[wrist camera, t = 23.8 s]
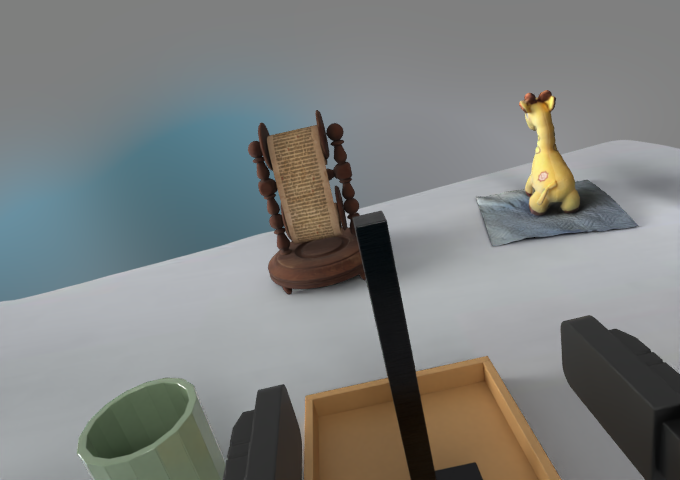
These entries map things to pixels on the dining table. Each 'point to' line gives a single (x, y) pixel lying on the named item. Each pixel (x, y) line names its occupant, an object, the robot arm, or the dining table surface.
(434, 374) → the oak tray
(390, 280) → the black rectangular stick
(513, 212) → the stuffed giraffe
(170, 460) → the pen cup
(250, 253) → the dining table surface
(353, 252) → the scroll
